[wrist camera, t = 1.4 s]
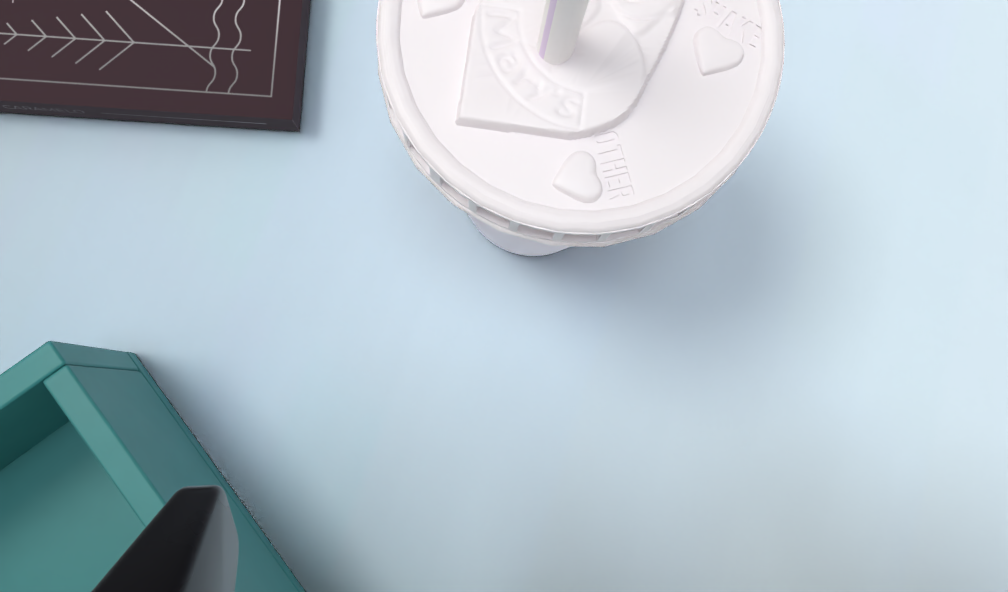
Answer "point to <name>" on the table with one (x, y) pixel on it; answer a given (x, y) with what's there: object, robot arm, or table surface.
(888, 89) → the table surface
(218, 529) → the robot arm
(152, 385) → the bin
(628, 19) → the smoothie
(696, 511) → the table surface
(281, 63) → the chocolate bar
